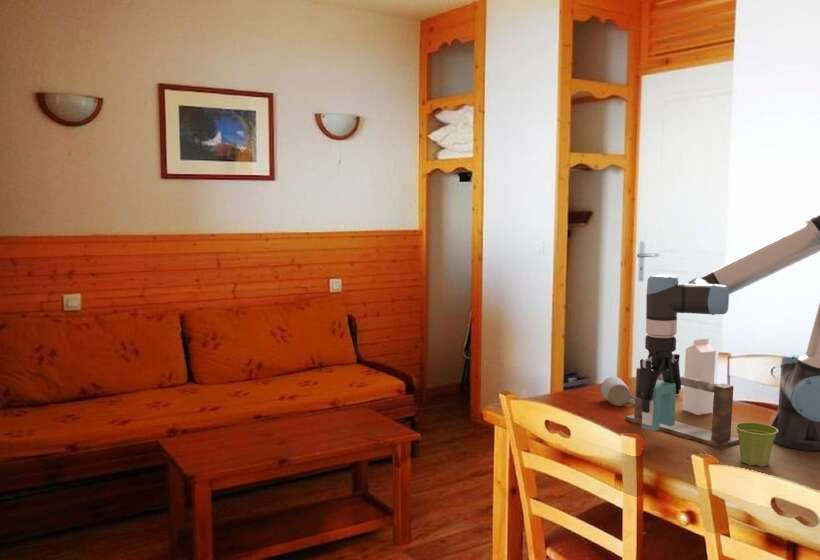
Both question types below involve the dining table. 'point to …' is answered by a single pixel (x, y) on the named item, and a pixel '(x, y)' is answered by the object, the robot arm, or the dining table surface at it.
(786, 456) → the dining table surface
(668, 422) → the teal block
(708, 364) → the milk
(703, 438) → the hanger stand
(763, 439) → the plant pot
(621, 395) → the ceramic mug
